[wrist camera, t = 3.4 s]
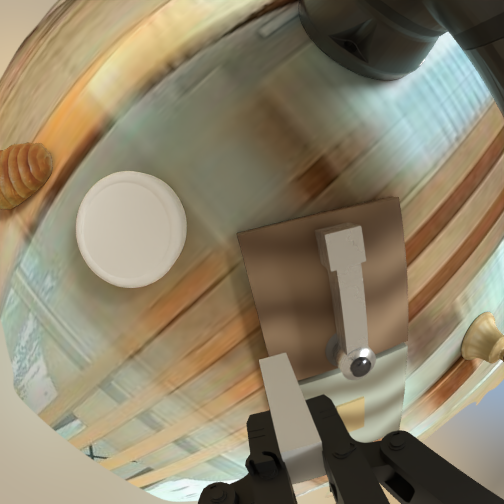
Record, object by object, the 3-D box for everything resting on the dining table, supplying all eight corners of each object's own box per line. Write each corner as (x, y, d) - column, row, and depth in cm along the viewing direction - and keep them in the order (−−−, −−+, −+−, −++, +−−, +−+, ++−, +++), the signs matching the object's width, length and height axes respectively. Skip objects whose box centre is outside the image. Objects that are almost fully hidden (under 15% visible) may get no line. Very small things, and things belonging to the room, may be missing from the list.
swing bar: (364, 357, 27) (378, 375, 24) (333, 368, 27) (345, 388, 24) (349, 221, 24) (367, 226, 21) (311, 230, 24) (325, 237, 21)
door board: (236, 233, 26) (238, 240, 22) (390, 196, 26) (411, 198, 23) (296, 459, 33) (301, 478, 30) (395, 423, 34) (405, 439, 30)
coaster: (76, 246, 25) (59, 253, 21) (118, 155, 24) (103, 150, 20) (158, 296, 27) (149, 310, 23) (207, 205, 25) (204, 207, 22)
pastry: (53, 129, 22) (33, 123, 18) (60, 190, 24) (39, 191, 20) (-2, 159, 22) (-22, 158, 18) (4, 213, 23) (-16, 218, 19)
